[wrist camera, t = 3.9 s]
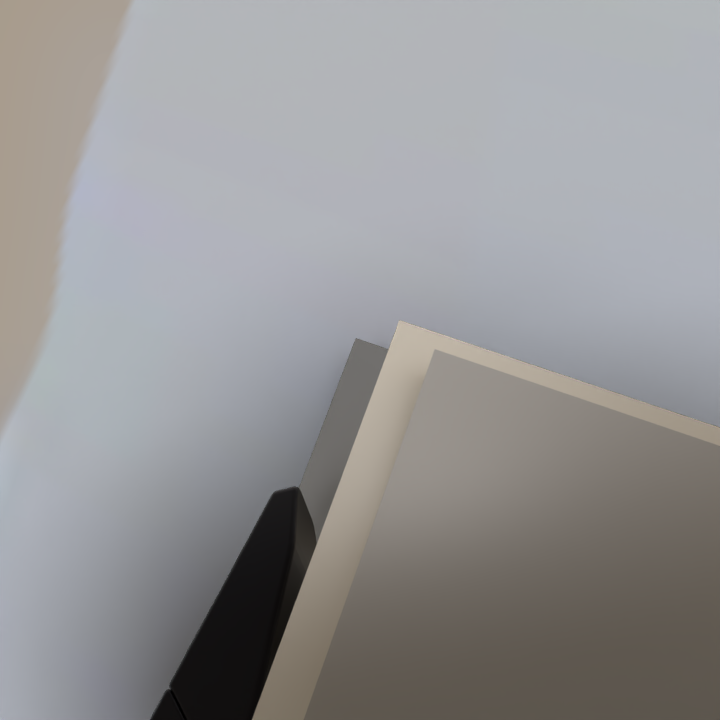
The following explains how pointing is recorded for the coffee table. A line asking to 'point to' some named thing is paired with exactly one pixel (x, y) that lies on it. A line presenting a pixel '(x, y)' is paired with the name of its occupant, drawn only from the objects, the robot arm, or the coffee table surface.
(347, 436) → the socket board
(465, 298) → the coffee table surface
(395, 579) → the plug
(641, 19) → the coffee table surface
